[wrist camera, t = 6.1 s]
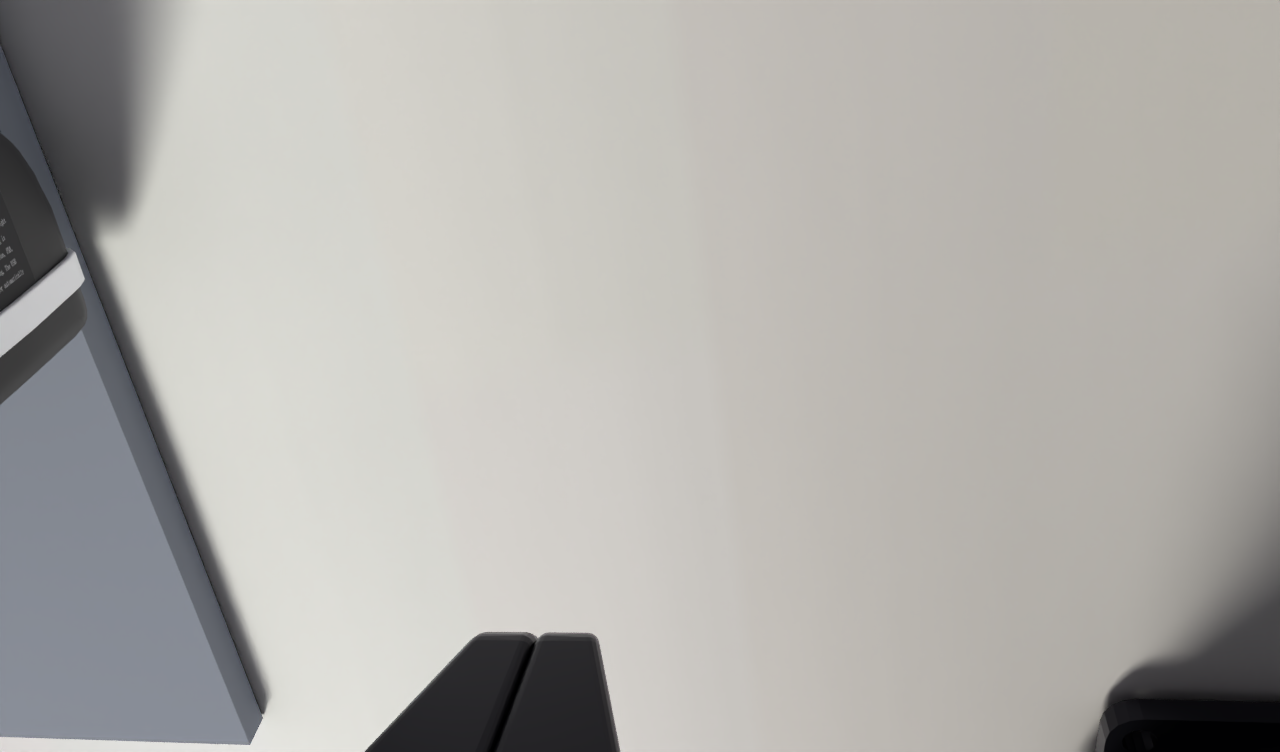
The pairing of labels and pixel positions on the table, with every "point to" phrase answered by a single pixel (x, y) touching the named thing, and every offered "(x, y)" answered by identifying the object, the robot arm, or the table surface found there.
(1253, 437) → the table surface
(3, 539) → the mat
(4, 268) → the battery charger
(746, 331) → the table surface
